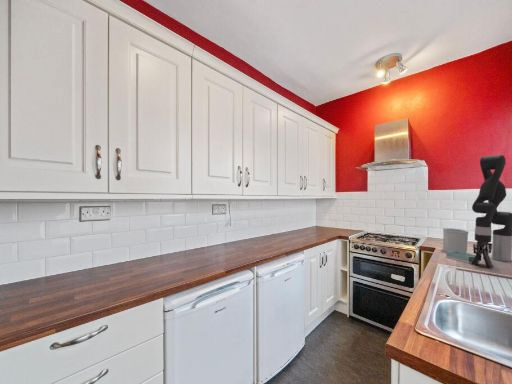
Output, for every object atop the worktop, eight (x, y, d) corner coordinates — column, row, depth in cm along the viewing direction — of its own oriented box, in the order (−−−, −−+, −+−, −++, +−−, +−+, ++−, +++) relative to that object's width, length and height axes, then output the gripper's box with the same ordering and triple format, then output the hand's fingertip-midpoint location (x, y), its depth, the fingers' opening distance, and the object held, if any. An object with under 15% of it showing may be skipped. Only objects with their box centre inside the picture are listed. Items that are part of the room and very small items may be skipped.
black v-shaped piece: (493, 267, 143) (494, 248, 143) (490, 268, 140) (491, 249, 140) (474, 263, 151) (474, 244, 151) (471, 264, 148) (471, 245, 147)
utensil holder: (473, 255, 169) (474, 231, 169) (453, 254, 170) (453, 231, 169) (456, 249, 184) (457, 228, 184) (437, 249, 184) (438, 227, 184)
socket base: (456, 256, 166) (456, 250, 166) (479, 261, 153) (479, 255, 153) (446, 257, 163) (446, 251, 163) (468, 263, 150) (469, 257, 150)
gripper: (483, 232, 151) (482, 257, 151) (468, 233, 146) (467, 259, 147) (497, 234, 144) (497, 261, 144) (482, 235, 139) (482, 262, 139)
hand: (482, 260), depth 145 cm, fingers closed on black v-shaped piece, 6 cm apart
